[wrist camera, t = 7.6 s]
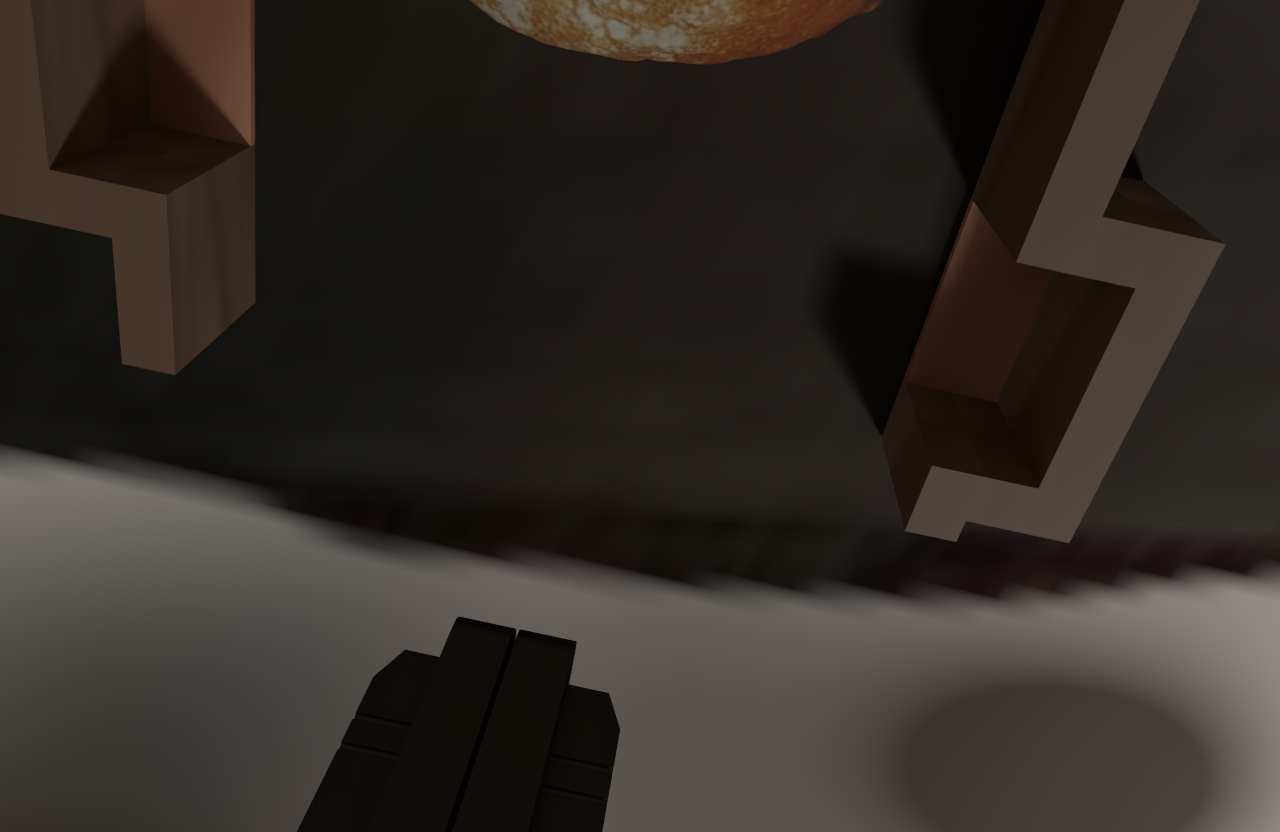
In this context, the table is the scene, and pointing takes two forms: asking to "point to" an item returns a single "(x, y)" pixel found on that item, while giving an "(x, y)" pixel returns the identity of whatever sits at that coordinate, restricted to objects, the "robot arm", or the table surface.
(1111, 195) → the box
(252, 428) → the table surface
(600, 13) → the bread roll
